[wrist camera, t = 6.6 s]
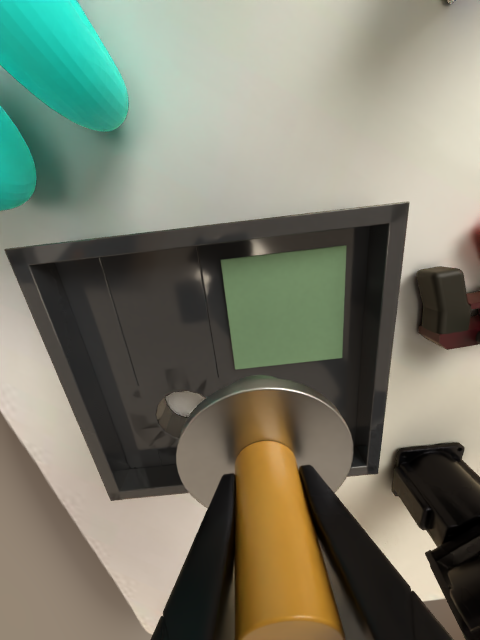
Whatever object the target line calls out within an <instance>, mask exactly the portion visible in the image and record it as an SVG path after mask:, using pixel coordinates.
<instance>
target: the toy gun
mask: <svg viewBox="0 0 480 640" xmlns="http://www.w3.org/2000/svg"><path fill="white" fill-rule="evenodd" d="M416 276H417V281H418V285H419V290H420V294H421V299H422V303H423V315H422V325H419V332H418V333H419V334H421V335H422V336H423V337H424V338H426V339H428V340H430V341H431V342H433V343H435V344H437V345H439V346H441V347H443V348H445V349H447V350H448V349H454V348H460V347H466V346H472V345H478V344H480V291H478V292H473V293H467V294H466V288H465V281H464V275H463V272H462V271H461V270H460V269H457V268H449V267H441V266H440V267H434V268H428V269H423V270H419V271H418V272H417V273H416ZM476 308H479V309H478V315H476V316H470V315H471V309H476Z"/></svg>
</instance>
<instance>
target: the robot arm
mask: <svg viewBox="0 0 480 640" xmlns="http://www.w3.org/2000/svg"><path fill="white" fill-rule="evenodd" d="M463 452H464V446H462V445H461V444H460V443H448V444H438V445H428V446H419V447H409V448H401V449H399V450H398V451H397V457H396V464H395V470H394V477H393V484H392V492H393V494H394V495H395V496H399V497H400V498H401V500H402V502H403V503H404V505H405V506H406V508H407V509H408V511H409V512H410V514H411V516H412V517H413V519H414V520H415V522H416V523H417V525H418V526H419V528H421V529H422V530H427V532H428V533H429V535H430V536H431V538H432V539H433V541H434V542H435V544H436V546H437V548H436V549H434V550H432V551H431V550H429V551H428V552H426V553H425V555H426V557H427V559H428V561H429V563H430V567H431V569H432V571H433V573H434V575H435V577H436V579H437V581H438V584H439V586H440V588H441V590H442V592H443V594H444V596H445V598H446V600H447V602H448V604H449V606H450V608H451V610H452V612H453V614H454V616H455V618H456V621H457V623H458V624H459V627H460V629H461V630H462V633H463V635H464V638H465V639H466V640H480V477H479V476H478V475H477V474H476V473H475V472H474V471H473V470H472V469H471V468H470V467H469V466H468V465H467V464H466V463H465V462H464V461H463V460H462V456H463ZM299 473H300V476H301V480H302V483H303V487H304V491H305V494H306V498H307V501H308V505H309V509H310V512H311V516H312V519H313V523H314V526H315V530H316V533H317V537H318V540H319V544H320V548H321V551H322V555H323V558H324V562H325V565H326V569H327V573H328V576H329V580H330V583H331V587H332V590H333V594H334V598H335V601H336V605H337V608H338V612H339V616H340V619H341V623H342V626H343V630H344V633H345V640H454V639H453V638H452V637H451V636H450V635H449V633H448V632H447V631H446V630H445V628H444V627H443V626H442V625H441V624H440V622H439V621H438V620H437V619H436V618H435V616H434V615H433V614H432V613H431V612H430V611H429V609H428V608H427V607H426V606H425V604H424V603H423V602H422V601H421V599H420V598H419V597H418V596H417V594H416V593H415V592H414V591H411V588H410V586H409V585H408V584H407V582H406V581H405V580H404V579H403V577H402V576H401V575H400V574H399V572H398V571H397V570H396V569H395V567H394V566H393V565H392V564H391V563H390V561H389V560H388V559H387V558H386V556H385V555H384V554H383V553H382V551H381V550H380V549H379V548H378V546H377V545H376V544H375V543H374V542H373V540H372V539H371V538H370V537H369V535H368V534H367V533H366V532H365V530H364V529H363V528H362V527H361V526H360V524H359V523H358V522H357V521H356V519H355V518H354V517H353V516H352V514H351V513H350V512H349V511H348V509H347V508H346V507H345V506H344V505H343V503H342V502H341V501H340V500H339V498H338V497H337V496H336V495H335V493H334V492H333V491H332V490H331V488H330V487H329V486H328V485H327V484H326V482H325V481H324V480H323V479H322V477H321V476H320V475H319V474H318V472H317V471H316V470H315V469H314V467H313V466H312V465H301V466H299ZM163 616H164V617H163ZM163 616H161V617H160V620H159V622H158V624H157V626H156V629H155V631H154V633H153V636H152V638H151V640H235V474H234V473H230V474H224V475H223V476H222V477H221V480H220V482H219V484H218V486H217V489H216V491H215V493H214V496H213V498H212V500H211V503H210V505H209V507H208V509H207V512H206V514H205V516H204V519H203V521H202V523H201V526H200V528H199V530H198V532H197V535H196V537H195V539H194V542H193V544H192V546H191V549H190V551H189V553H188V555H187V558H186V560H185V562H184V565H183V567H182V569H181V572H180V574H179V576H178V578H177V581H176V583H175V585H174V588H173V590H172V592H171V595H170V597H169V599H168V601H167V604H166V606H165V608H164V611H163Z"/></svg>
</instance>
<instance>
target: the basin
mask: <svg viewBox="0 0 480 640" xmlns="http://www.w3.org/2000/svg"><path fill="white" fill-rule="evenodd" d="M369 228H370V226H365V227H357V228H348V229H339V230H331V231H322V232H314V233H305V234H296V235H288V236H279V237H271V238H262V239H254V240H245V241H236V242H228V243H219V244H211V245H202V246H193V247H185V248H176V249H168V250H159V251H151V252H142V253H133V254H125V255H116V256H108V257H99V258H90V259H82V260H73V261H65V262H56V263H55V264H56V267H57V270H58V273H59V275H60V278H61V281H62V284H63V286H64V289H65V292H66V295H67V297H68V300H69V303H70V306H71V308H72V311H73V314H74V317H75V319H76V322H77V325H78V328H79V330H80V333H81V336H82V339H83V342H84V344H85V347H86V350H87V353H88V355H89V358H90V361H91V364H92V366H93V369H94V372H95V375H96V377H97V380H98V383H99V386H100V388H101V391H102V394H103V397H104V399H105V402H106V405H107V408H108V410H109V413H110V416H111V419H112V422H113V424H114V427H115V430H116V433H117V435H118V438H119V441H120V444H121V446H122V449H123V452H124V455H125V457H126V460H127V463H128V466H129V468H130V469H134V468H144V467H154V466H164V465H173V464H177V463H176V453H177V446H178V442H179V439H180V435H181V432H182V429H183V426H184V424H185V422H186V420H187V419H188V418H186V417H181V416H179V415H178V414H176V413H174V412H172V410H171V409H170V408H169V407H168V405H167V404H166V400H165V396H167V395H169V394H171V393H173V392H179V391H190V392H194V393H199V394H201V395H202V396H204V397H205V398H207V397H209V396H210V395H211V394H213V393H215V392H217V391H218V390H220V389H222V388H224V387H227V386H229V385H231V384H232V383H234V382H235V381H237V380H239V379H242V378H245V377H248V376H254V375H266V376H271V377H275V378H278V379H283V380H289V381H293V382H297V383H300V384H303V385H305V386H307V387H310V388H312V389H314V390H315V391H317V392H319V393H320V394H322V395H323V396H324V397H326V398H327V399H328V400H329V401H330V402H331V403H332V404H333V405H334V406H335V407H336V408H337V410H338V411H339V413H340V415H341V416H342V418H343V419H344V421H345V423H346V424H347V426H348V428H349V431H350V433H351V436H352V441H353V446H355V434H356V419H357V404H358V390H359V375H360V360H361V346H362V331H363V316H364V301H365V287H366V272H367V257H368V242H369ZM344 245H345V246H346V271H345V297H344V323H343V349H342V358H337V359H328V360H319V361H310V362H300V363H291V364H282V365H273V366H263V367H254V368H245V369H235V365H234V357H233V350H232V342H231V335H230V327H229V320H228V312H227V305H226V297H225V290H224V282H223V275H222V267H221V260H223V259H231V258H240V257H249V256H257V255H266V254H275V253H283V252H292V251H301V250H309V249H318V248H327V247H335V246H344Z"/></svg>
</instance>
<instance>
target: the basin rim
mask: <svg viewBox="0 0 480 640" xmlns="http://www.w3.org/2000/svg"><path fill="white" fill-rule="evenodd" d="M408 211H409V202H400V203H391V204H383V205H374V206H366V207H357V208H349V209H340V210H332V211H323V212H315V213H306V214H298V215H289V216H281V217H272V218H264V219H255V220H247V221H238V222H230V223H221V224H213V225H204V226H196V227H187V228H179V229H170V230H162V231H153V232H145V233H136V234H128V235H119V236H111V237H102V238H94V239H85V240H77V241H68V242H60V243H51V244H43V245H34V246H26V247H17V248H9V249H5V252H6V255H7V257H8V259H9V262H10V264H11V267H12V269H13V271H14V274H15V276H16V278H17V281H18V283H19V285H20V288H21V290H22V292H23V295H24V297H25V299H26V302H27V304H28V307H29V309H30V311H31V314H32V316H33V318H34V321H35V323H36V325H37V328H38V330H39V332H40V335H41V337H42V340H43V342H44V344H45V347H46V349H47V351H48V354H49V356H50V358H51V361H52V363H53V365H54V368H55V370H56V373H57V375H58V377H59V380H60V382H61V384H62V387H63V389H64V391H65V394H66V396H67V398H68V401H69V403H70V406H71V408H72V410H73V413H74V415H75V417H76V420H77V422H78V424H79V427H80V429H81V431H82V434H83V436H84V438H85V441H86V443H87V446H88V448H89V450H90V453H91V455H92V457H93V460H94V462H95V464H96V467H97V469H98V471H99V474H100V476H101V479H102V481H103V483H104V486H105V488H106V490H107V493H108V495H109V497H110V500H111V501H114V500H122V499H132V498H142V497H152V496H162V495H172V494H182V493H189V492H188V491H187V489H186V488H185V486H184V484H183V483H182V481H181V478H180V476H179V473H178V469H177V464H173V465H164V466H154V467H144V468H134V469H130V468H129V466H128V463H127V460H126V457H125V455H124V452H123V449H122V446H121V444H120V441H119V438H118V435H117V433H116V430H115V427H114V424H113V422H112V419H111V416H110V413H109V410H108V408H107V405H106V402H105V399H104V397H103V394H102V391H101V388H100V386H99V383H98V380H97V377H96V375H95V372H94V369H93V366H92V364H91V361H90V358H89V355H88V353H87V350H86V347H85V344H84V342H83V339H82V336H81V333H80V330H79V328H78V325H77V322H76V319H75V317H74V314H73V311H72V308H71V306H70V303H69V300H68V297H67V295H66V292H65V289H64V286H63V284H62V281H61V278H60V275H59V273H58V270H57V267H56V264H55V263H56V262H65V261H73V260H82V259H90V258H99V257H108V256H116V255H125V254H133V253H142V252H151V251H159V250H168V249H176V248H185V247H193V246H202V245H211V244H219V243H228V242H236V241H245V240H254V239H262V238H271V237H279V236H288V235H296V234H305V233H314V232H322V231H331V230H339V229H348V228H357V227H365V226H370V228H369V242H368V257H367V272H366V287H365V301H364V316H363V331H362V346H361V360H360V375H359V390H358V404H357V419H356V434H355V446H353V461H352V465H351V468H350V471H349V473H348V475H347V477H349V476H359V475H370V474H378V468H379V459H380V451H381V442H382V434H383V425H384V416H385V408H386V399H387V391H388V382H389V374H390V365H391V356H392V348H393V339H394V331H395V322H396V314H397V305H398V296H399V288H400V279H401V271H402V262H403V253H404V245H405V236H406V228H407V219H408Z"/></svg>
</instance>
